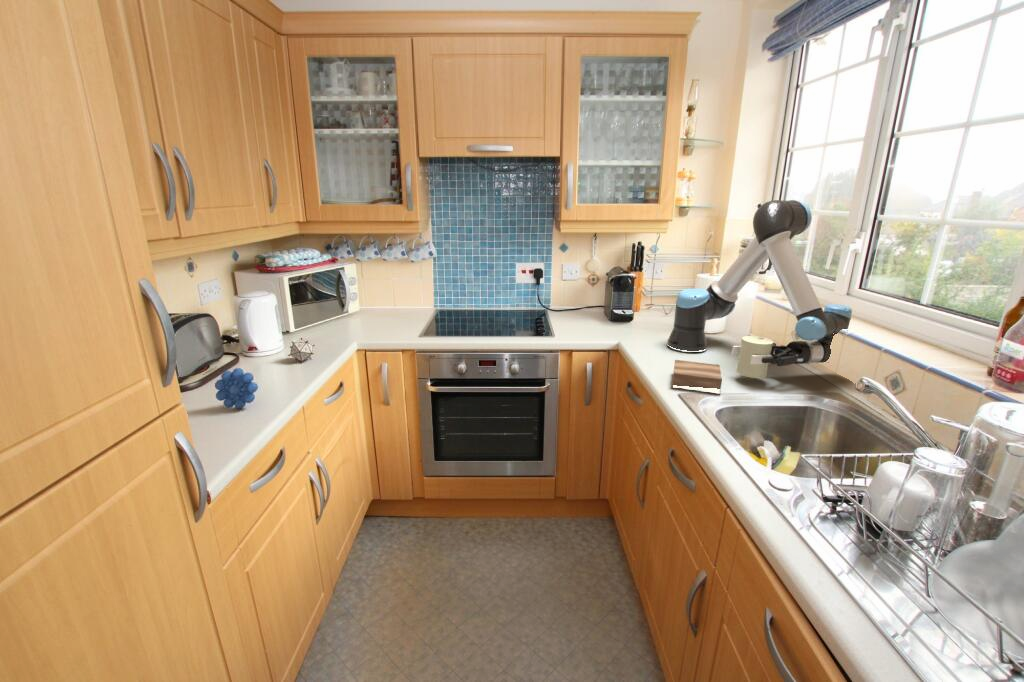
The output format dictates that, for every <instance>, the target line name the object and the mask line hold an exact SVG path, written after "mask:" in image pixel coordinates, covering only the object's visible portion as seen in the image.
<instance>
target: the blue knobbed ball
mask: <svg viewBox="0 0 1024 682" xmlns="http://www.w3.org/2000/svg"><path fill="white" fill-rule="evenodd" d="M220 377H221V378H219V379H218V380H216V382H215V383H214V387H215V389H216V390H218V391H217V392H216V394H215V398H216V400H218V401H223V403H222V404H223V406H224V408H227V409H230V408H233V407H235V408H236V409H238V410H241V409H243V408H244V407H245V406H246V404H251V403H253V401H255V399H256V398H255V397H256V395H255V393H256V392H257V390H258V389H259V385H258V383H256V382H254V377H255V376H254V374H253V373H251V372H244V369H242V368H240V367H236V368H234V369H233V370H232V371H230V370H225V371H223V372H222V373H221V374H220Z"/></svg>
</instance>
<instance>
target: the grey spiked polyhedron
mask: <svg viewBox="0 0 1024 682" xmlns="http://www.w3.org/2000/svg"><path fill="white" fill-rule="evenodd" d="M291 344H292V345H291V346H289V348H290V352H289V353H290V354H288V355H287V356H288V357H290V356H291V357H293V358H295V360H296V359H297V361H300V363H301V364H303V363H302V362H304V361H306V360H308V359H310V360H312V357H311V356H312V355H314V353H313V348H314V347H315V344H313V345H312V344H310V343H309V340H303V337H300V340H297V341H295V342H294V341H291Z"/></svg>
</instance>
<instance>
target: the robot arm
mask: <svg viewBox="0 0 1024 682" xmlns="http://www.w3.org/2000/svg"><path fill="white" fill-rule="evenodd" d="M752 219H753V220H752V225H753V226H752V228H753V232H754V235H755V236H754V237H753V239H752V240H751V241H750V242H749V244H748V245H746V247H745V248H744V250H742V252H741V253H740V254H739V256H738V257H737V258H736V259H735V260H734V262H733V263H732V264H731V265H730V266H729V268H728V269H727V271H725V273H724V274H723V275H722V276H721V277H720V279H719V280H714V281H713V282H711V284H709V286H708V287H707V288H706V289H704V288H685V289H682V290H680V291H679V292H678V293H677V295H676V299H675V311H674V322H673V328H672V330H671V332H670V335H669V336H668V338H667V342H666V345H667V344H668V345H669V346H671V347H673V348H676V349H680V350H687V351H699V350H704V349H706V348H708V342H707V338H706V333H705V327H706V322H707V321H709V320H710V321H711V320H715V319H722V318H724V317H727V316H728V315H730V314H732V312H734V310H735V307H736V302H737V301H738V297H739V296H738V294H739V292H740V291H742V289H743V288H744V287H745V285H747V283H748V282H750V280H751V279H752V278H753V276H754V275H756V274H757V272H758V271H759V270H760V268H761V267H762V266H763V265H764V264H765V263H766V262H767V260H770V263H771V265H772V268H773V269H774V271H775V273H776V276H777V279H778V280H779V282H780V285H781V287H782V289H783V291H784V293H785V295H786V298H787V301H788V302H789V304H790V306H791V309H792V311H793V313H794V315H795V317H796V320H797V321H796V324H795V326H794V327H795V328H794V329H795V330H794V331H795V334H796V336H797V337H799V338H800V339H802V340H797V341H796V340H795V341H790V342H789V343H788V344H787V345H783V344H782V345H777V343H774V342H773V345H772V350H771V354H770V355H752V356H751V362H750V364H768V365H770V364H772V365H776V366H777V367H783V366H784V367H785V366H789V365H800V364H801V365H802V364H803V365H804V364H806V365H810V364H817V363H818V364H820V363H822V364H823V363H824V362H826V361H827V360H828V359H829V357H830V354H831V349H830V345H831V342H832V339H833V336H834V335H835V334H837V333H838V332H839V331H840V330H842V329H848V330H849V326H850V324H851V323H850V322H851V320H852V312H853V309H852V307H850V306H847V305H844V304H843V305H842V304H838V303H837V304H835V303H830V304H829V303H828V304H827V305H825V307H824V309H823V308H822V304H821V303H820V301H819V299H818V297H817V295H816V292H815V290H814V288H813V286H812V283H811V281H810V279H809V277H808V275H807V273H806V271H805V269H804V266H803V263H802V262H801V259H800V257H799V255H798V253H797V251H796V249H795V246H794V245H793V242H792V240H793V238H794V237H795V236H798V235H800V234H802V233H804V232H805V231H806V230H807V229H808V228H809V227H810V225H811V223H812V220H813V219H812V211H811V209H810V207H809V205H807V204H806V203H805V202H803V201H799V200H796V199H789V200H780V199H774V200H769V201H766V202H764V203H763V204H761V205H760V206H759V207H758V208H757V210H756V211H755V213H754V215H753V218H752ZM833 333H834V334H833ZM740 348H741V345H732V349H731V355H739V354H740ZM706 350H707V349H706Z"/></svg>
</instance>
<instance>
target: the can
mask: <svg viewBox="0 0 1024 682" xmlns="http://www.w3.org/2000/svg"><path fill="white" fill-rule="evenodd" d="M773 343H774V341H773V340H772V339H770V338H767V337H764V336H763V337H762V336H756V335H744V336H742V337H741V343H740V346H741V348H740V354H738V361H737V366H736V370H735V372H736V373H737V374H739V375H741V376H743V377H746V378H750V379H764V378H766V377H768V369H769V364H750V362H751V356H752V355H770V354H771V350H772V345H773Z"/></svg>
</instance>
